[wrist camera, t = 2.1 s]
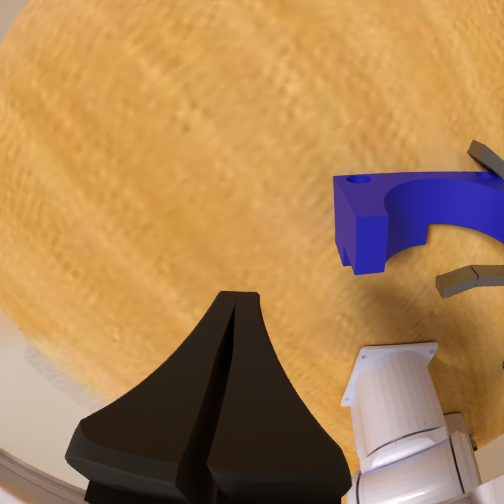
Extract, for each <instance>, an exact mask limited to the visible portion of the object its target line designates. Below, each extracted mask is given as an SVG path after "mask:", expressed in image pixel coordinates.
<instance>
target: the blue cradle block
mask: <svg viewBox="0 0 504 504" xmlns="http://www.w3.org/2000/svg"><path fill="white" fill-rule="evenodd" d="M333 183H334V206H335V243H336V246H337V249H338V252H339V255H340V258H341V261H342V264H343V266H352V269H353V272H354V275H361V274H370V273H380V272H384V269H385V262H386V261H387V260H388V259H389V258H390V257H392V256H393V255H394V254H396V253H398V252H400V251H402V250H404V249H407V248H410V247H414V246H418V245H425V244H426V236H427V229H428V224H437V223H439V224H452V225H459V226H463V227H468V228H471V229H474V230H478V231H480V232H483V233H485V234H487V235H490V236H492V237H494V238H496V239H497V240H499V241H501V242H502V243H504V179H502V178H501V177H499V176H497V175H496V174H494V173H493V172H402V173H378V174H359V175H343V176H333Z"/></svg>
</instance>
